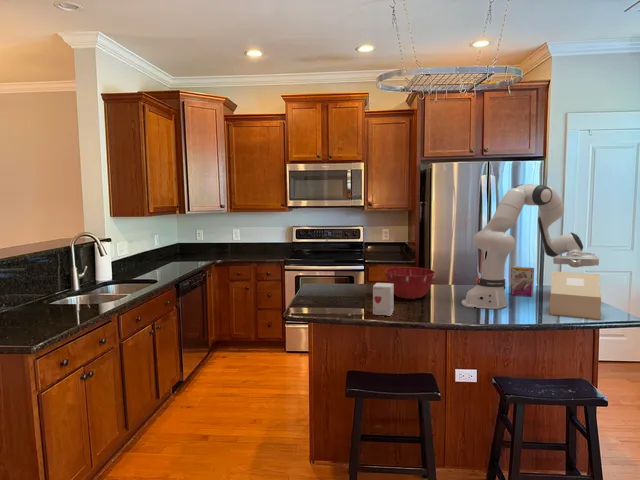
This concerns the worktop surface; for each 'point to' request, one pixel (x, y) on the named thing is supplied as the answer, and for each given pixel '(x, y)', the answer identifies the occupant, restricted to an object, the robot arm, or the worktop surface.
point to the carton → (575, 306)
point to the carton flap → (576, 284)
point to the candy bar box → (522, 281)
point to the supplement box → (383, 299)
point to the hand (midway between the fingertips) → (575, 262)
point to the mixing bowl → (410, 281)
